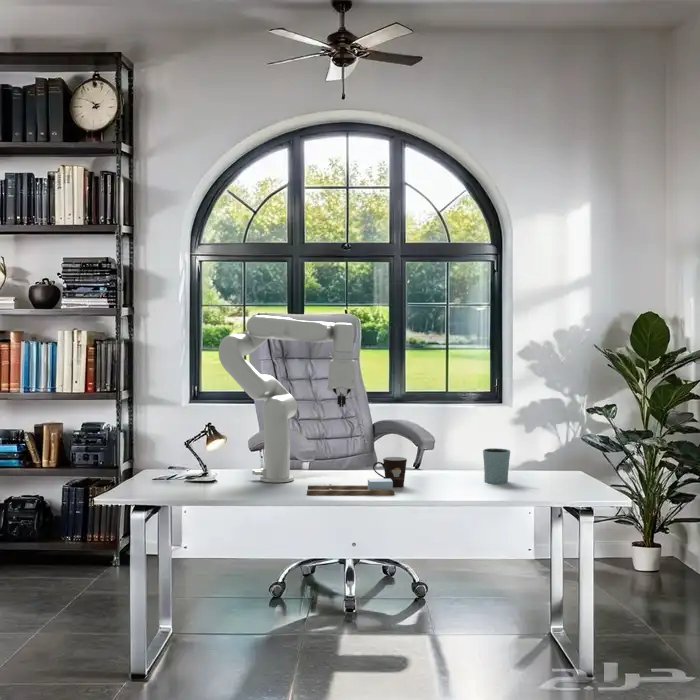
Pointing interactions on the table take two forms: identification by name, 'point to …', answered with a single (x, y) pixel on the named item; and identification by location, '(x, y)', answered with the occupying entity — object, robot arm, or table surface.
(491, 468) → the green tapered cup
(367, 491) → the wooden rail frame
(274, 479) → the robot arm
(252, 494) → the table surface
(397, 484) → the coffee mug
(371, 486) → the block
